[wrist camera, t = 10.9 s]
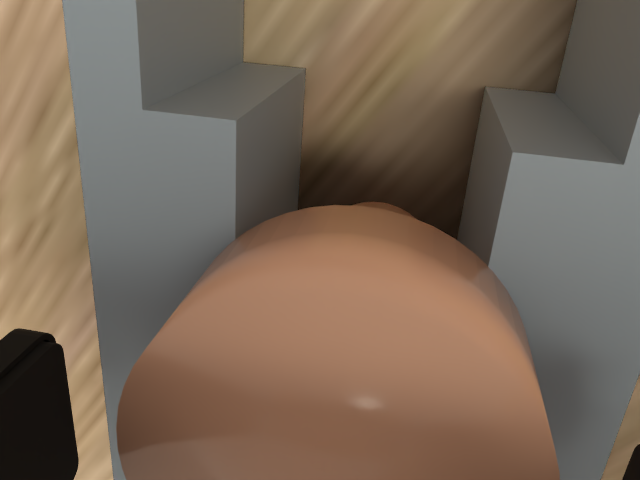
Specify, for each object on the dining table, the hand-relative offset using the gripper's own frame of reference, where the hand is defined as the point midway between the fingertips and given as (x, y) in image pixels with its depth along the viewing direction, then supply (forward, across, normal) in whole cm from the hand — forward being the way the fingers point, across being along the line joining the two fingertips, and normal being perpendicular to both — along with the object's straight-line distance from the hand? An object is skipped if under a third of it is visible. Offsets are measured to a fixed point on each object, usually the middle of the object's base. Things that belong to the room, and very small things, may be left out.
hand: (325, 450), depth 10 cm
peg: (+7, 0, 0) cm, 7 cm away
